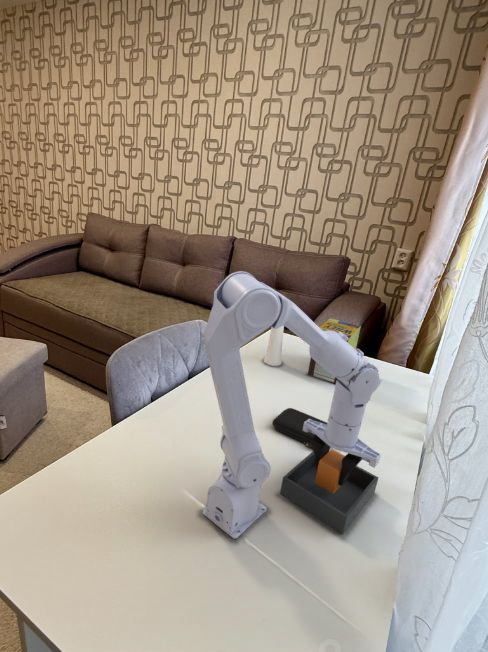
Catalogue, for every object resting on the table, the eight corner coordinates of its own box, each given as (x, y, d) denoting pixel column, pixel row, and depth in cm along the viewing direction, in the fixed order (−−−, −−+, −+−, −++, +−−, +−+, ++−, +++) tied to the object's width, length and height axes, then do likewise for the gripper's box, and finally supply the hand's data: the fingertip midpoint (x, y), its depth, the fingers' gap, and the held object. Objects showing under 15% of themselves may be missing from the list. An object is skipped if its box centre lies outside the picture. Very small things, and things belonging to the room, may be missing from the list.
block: (333, 494, 74) (338, 471, 72) (314, 482, 77) (319, 460, 74) (345, 481, 78) (350, 458, 76) (326, 470, 80) (331, 448, 78)
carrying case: (266, 431, 96) (323, 458, 89) (267, 421, 95) (325, 447, 88) (286, 413, 105) (339, 436, 97) (287, 403, 103) (342, 426, 96)
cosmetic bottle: (262, 364, 131) (271, 300, 122) (264, 356, 136) (272, 295, 128) (281, 367, 130) (290, 303, 121) (282, 359, 135) (291, 298, 127)
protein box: (351, 367, 133) (361, 325, 128) (339, 385, 121) (349, 339, 115) (321, 359, 138) (329, 317, 132) (306, 375, 126) (314, 330, 120)
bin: (341, 536, 69) (346, 517, 68) (279, 495, 77) (282, 477, 76) (373, 494, 79) (378, 477, 78) (315, 462, 87) (319, 445, 86)
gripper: (393, 426, 70) (376, 486, 75) (320, 394, 79) (309, 449, 84) (378, 443, 65) (360, 506, 70) (302, 406, 74) (291, 464, 79)
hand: (331, 476), depth 77 cm, fingers closed on block, 4 cm apart
